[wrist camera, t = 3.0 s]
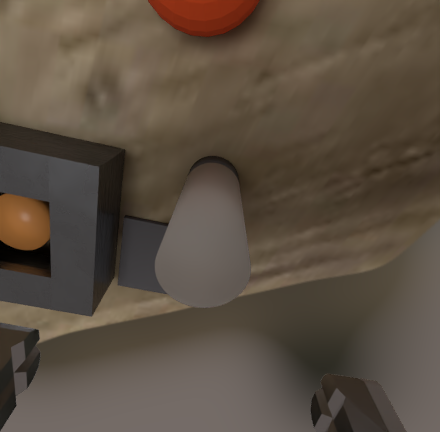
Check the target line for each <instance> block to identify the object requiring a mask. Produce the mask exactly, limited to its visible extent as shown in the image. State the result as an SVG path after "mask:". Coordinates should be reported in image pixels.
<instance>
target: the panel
mask: <svg viewBox="0 0 440 432" xmlns="http://www.w3.org/2000/svg"><path fill="white" fill-rule="evenodd" d="M124 155H125V149H121V148H116V147H112V146H107V145H103V144H98V143H93V142H89V141H84V140H80V139H75V138H71V137H66V136H61V135H57V134H52V133H48V132H43V131H38V130H34V129H29V128H25V127H20V126H16V125H11V124H6V123H2V122H0V192H2V193H7V194H12V195H17V196H22V197H27V198H32V199H37V200H42V201H47V202H49V209H50V251H51V256H47V255H41V254H36V253H31V252H25V251H20V250H15V249H9V248H4V247H0V301H5V302H11V303H17V304H23V305H28V306H34V307H40V308H46V309H51V310H57V311H63V312H69V313H74V314H80V315H86V316H92V315H93V314H94V312H95V310H96V308H97V307H98V305H99V303H100V301H101V299H102V298H103V296H104V294H105V292H106V291H107V289H108V287H109V285H110V284H111V282H112V280H113V278H114V273H115V261H116V249H117V238H118V226H119V214H120V202H121V191H122V179H123V167H124Z"/></svg>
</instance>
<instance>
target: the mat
mask: <svg viewBox="0 0 440 432" xmlns="http://www.w3.org/2000/svg"><path fill="white" fill-rule="evenodd" d="M168 225H169V224H165V223H160V222H155V221H150V220H145V219H140V218H135V217H130V216H125V217H124V223H123V234H122V245H121V255H120V266H119V277H118V285H120V286H125V287H131V288H136V289H141V290H147V291H152V292H158V293H163V294H167V293H166V292H165V291H164V290H163V288H162V287H161V285H160V284H159V282H158V280H157V277H156V273H155V259H156V255H157V253H158V250H159V248H160V245H161V243H162V240H163V237H164V235H165V232H166V230H167V227H168Z"/></svg>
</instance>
